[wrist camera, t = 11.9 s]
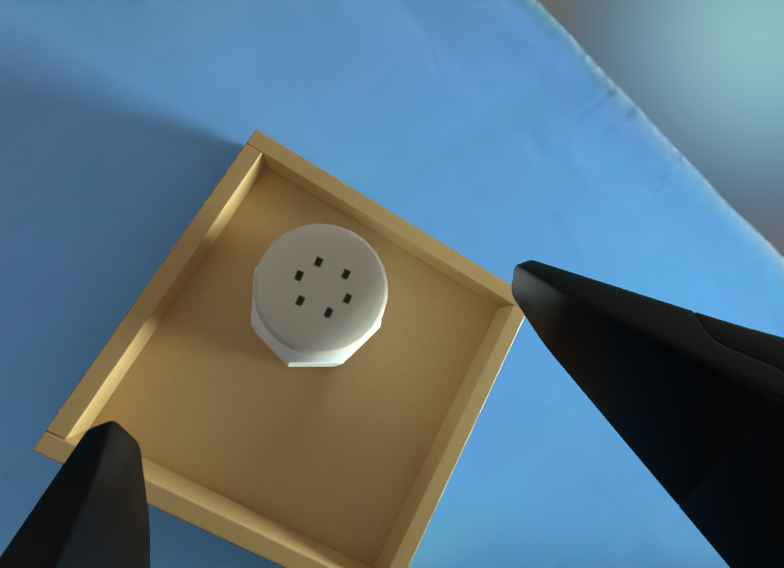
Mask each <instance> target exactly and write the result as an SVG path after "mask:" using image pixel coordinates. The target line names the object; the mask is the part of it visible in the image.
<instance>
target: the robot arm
mask: <svg viewBox="0 0 784 568" xmlns="http://www.w3.org/2000/svg"><path fill="white" fill-rule="evenodd" d="M512 295H513V298H514V300H515V301H516V303H517V304H518V306H519V307H520V309H521V310H522V312H523V313H524V315H525V316H526V318H527V319H528V321H529V322H530V324H531V325H532V327H533V328H534V330H535V331H536V333H537V334H538V336H539V337H540V339H541V340H542V341H543V343H544V344H545V346H546V347H547V348H548V350H549V351H550V352H551V353H552V355H553V356H554V357H555V358H556V359H557V361H558V362H559V363H560V364H561V365H562V367H563V368H564V369H565V370H566V371H567V373H568V374H569V375H570V376H571V377H572V379H573V380H574V381H575V382H576V383H577V385H578V386H579V387H580V388H581V389H582V391H583V392H584V393H585V394H586V395H587V396H588V398H589V399H590V400H591V401H592V402H593V404H594V405H595V406H596V407H597V408H598V410H599V411H600V412H601V413H602V414H603V416H604V417H605V418H606V419H607V420H608V422H609V423H610V424H611V425H612V426H613V428H614V429H615V430H616V431H617V432H618V434H619V435H620V436H621V437H622V438H623V440H624V441H625V442H626V443H627V444H628V446H629V447H630V448H631V449H632V450H633V452H634V453H635V454H636V455H637V456H638V458H639V459H640V460H641V461H642V462H643V463H644V465H645V466H646V467H647V468H648V469H649V471H650V472H651V473H652V474H653V475H654V477H655V478H656V479H657V480H658V481H659V483H660V484H661V485H662V486H663V487H664V489H665V490H666V491H667V492H668V493H669V495H670V496H671V497H672V498H673V499H674V501H675V502H676V503H677V504H678V505H679V507H680V508H681V509H682V511H683V512H684V513H685V514H686V515H687V517H688V518H689V519H690V520H691V521H692V522H693V524H694V525H695V526H696V527H697V528H698V530H699V531H700V532H701V533H702V534H703V536H704V537H705V538H706V539H707V540H708V542H709V543H710V544H711V545H712V546H713V548H714V549H715V550H716V551H717V552H718V554H719V555H720V556H721V557H722V558H723V560H724V561H725V562H726V563H727V564H728V566H729V567H730V568H784V338H783V337H779V336H775V335H771V334H768V333H764V332H760V331H757V330H753V329H749V328H746V327H742V326H739V325H736V324H732V323H729V322H726V321H723V320H719V319H716V318H713V317H710V316H707V315H703V314H700V313H697V312H696V313H694V312H693V311H691V310H687V309H684V308H681V307H678V306H675V305H672V304H669V303H666V302H662V301H659V300H656V299H653V298H650V297H647V296H644V295H640V294H637V293H634V292H631V291H628V290H625V289H622V288H618V287H615V286H612V285H609V284H606V283H603V282H600V281H596V280H593V279H590V278H587V277H584V276H581V275H578V274H575V273H571V272H568V271H565V270H562V269H559V268H556V267H553V266H549V265H546V264H543V263H540V262H537V261H533V260H529V261H526V262H523V263H521V264H518V265H517V266H516V267H515V269H514V275H513V283H512ZM0 568H150V524H149V513H148V505H147V497H146V489H145V481H144V473H143V465H142V456H141V450H140V446H139V444H138V442H137V441H136V440H135V439H134V438H133V437H132V436H131V435H130V434H129V433H128V432H127V431H126V430H125V429H124V428H123V427H122V426H121V425H120V424H118V423H117V422H115V421H108V422H105V423H102V424H100V425H97V426H95V427H92V428H90V429H89V430H87V431H86V432H85V434H84V435H83V437H82V438H81V439H80V441H79V442H78V444H77V445H76V447H75V448H74V450H73V451H72V453H71V454H70V456H69V457H68V459H67V460H66V461H65V463H64V464H63V466H62V467H61V469H60V470H59V472H58V473H57V475H56V476H55V478H54V479H53V481H52V482H51V484H50V485H49V486H48V488H47V489H46V491H45V492H44V494H43V495H42V497H41V498H40V500H39V501H38V503H37V504H36V506H35V507H34V508H33V510H32V511H31V513H30V514H29V516H28V517H27V519H26V520H25V522H24V523H23V525H22V526H21V528H20V529H19V531H18V532H17V533H16V535H15V536H14V538H13V539H12V541H11V542H10V544H9V545H8V547H7V548H6V550H5V551H4V553H3V554H2V555H1V557H0Z"/></svg>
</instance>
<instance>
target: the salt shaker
mask: <svg viewBox="0 0 784 568" xmlns="http://www.w3.org/2000/svg"><path fill="white" fill-rule="evenodd" d="M387 297H388V282H387V278H386V273H385V269H384V266H383V264H382V262H381V260H380V259H379V257H378V255H377V253H376V251H375V250H374V249H373V248H372V247H371V246H370V245H369V244H368V243H367V242H366V241H365V240H364V239H363V238H361V237H360V236H358V235H357V234H355V233H354V232H352V231H351V230H348V229H345V228H342V227H339V226H336V225H329V224H312V225H307V226H301V227H298V228H296V229H294V230H292V231H289V232H287V233H285V234H283V235H282V236H281V237H280V238H279V239H277V240H276V241H275V242H274V243H273V244H271V245H270V246H269V248H268V249H267V251H266V252H265V254H264V255H263V257H262V258H261V259H260V262H259V265H258V266H257V267H256V268H255V270H254V278H253V293H252V309H251V326H252V327H253V329H254V331H255V332H256V334H257V335H258V336H259V337H260V338H261V339H262V340H263V341H264V342H265V343H266V344H267V345H268V346H269V347H270V348H271V349H272V350H273V351H274V352H275V354H276V355H277V356H278V357H279V358H280V359H281V360H282V361H283V362H284V363H285V364H286V365H287V366H288V367H335V366H338V365H341V364H343V363H344V362H345V361H346V360H347V359H348V358H349V357H350V356H351V355H352V354H353V353H354V352H355V351H356V350H357V349H358V348H359V347H360V346H361V345H362V344H363V343H364V342H365V341H367V340H368V339H369V338H370V337H371V336H372V335H373V334H374V333H375V332H376V331H377V330H378V329H379V328H380V326H381V318H382V316H383V313H384V310H385V306H386V303H387Z"/></svg>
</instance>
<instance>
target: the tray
mask: <svg viewBox="0 0 784 568" xmlns="http://www.w3.org/2000/svg"><path fill="white" fill-rule="evenodd" d="M312 224H329V225H336V226H339V227H342V228H345V229H348V230H351V231H352V232H354V233H355V234H357V235H358V236H360V237H361V238H363V239H364V240H365V241H366V242H367V243H368V244H369V245H370V246H371V247H372V248H373V249H374V250H375V251H376V253H377V255H378V257H379V259H380V260H381V262H382V264H383V266H384V269H385V273H386V278H387V282H388V297H387V303H386V306H385V310H384V313H383V316H382V318H381V326H380V328H379V329H378V330H377V331H376V332H375V333H374V334H373V335H372V336H371V337H370V338H369V339H368V340H367V341H365V342H364V343H363V344H362V345H361V346H360V347H359V348H358V349H357V350H356V351H355V352H354V353H353V354H352V355H351V356H350V357H349V358H348V359H347V360H346V361H345V362H344V363H343V364H341V365H338V366H335V367H288V366H287V365H286V364H285V363H284V362H283V361H282V360H281V359H280V358H279V357H278V356H277V355H276V354H275V352H274V351H273V350H272V349H271V348H270V347H269V346H268V345H267V344H266V343H265V342H264V341H263V340H262V339H261V338H260V337H259V336H258V335H257V334H256V332H255V331H254V329H253V327H252V326H251V309H252V293H253V278H254V270H255V268H256V267H257V266H258V265H259V262H260V259H261V258H262V257H263V255H264V254H265V252H266V251H267V249H268V248H269V246H270V245H271V244H273V243H274V242H275V241H276V240H277V239H279V238H280V237H281V236H282V235H283V234H285V233H287V232H289V231H292V230H294V229H296V228H298V227H301V226H307V225H312ZM524 317H525V315H524V313H523V312H522V310H521V309H520V307H519V306H518V304H517V303H516V301H515V300H514V298H513V295H512V286H511V285H510V284H508V283H506V282H505V281H503V280H502V279H500V278H498V277H497V276H495V275H493V274H492V273H490V272H488V271H487V270H485V269H484V268H482V267H480V266H479V265H477V264H475V263H474V262H472V261H471V260H469V259H467V258H466V257H464V256H462V255H461V254H459V253H457V252H456V251H454V250H453V249H451V248H449V247H448V246H446V245H444V244H443V243H441V242H440V241H438V240H436V239H435V238H433V237H431V236H430V235H428V234H426V233H425V232H423V231H422V230H420V229H418V228H417V227H415V226H413V225H412V224H410V223H408V222H407V221H405V220H404V219H402V218H400V217H399V216H397V215H395V214H394V213H392V212H391V211H389V210H387V209H386V208H384V207H382V206H381V205H379V204H377V203H376V202H374V201H373V200H371V199H369V198H368V197H366V196H364V195H363V194H361V193H360V192H358V191H356V190H355V189H353V188H351V187H350V186H348V185H346V184H345V183H343V182H342V181H340V180H338V179H337V178H335V177H333V176H332V175H330V174H328V173H327V172H325V171H324V170H322V169H320V168H319V167H317V166H315V165H314V164H312V163H311V162H309V161H307V160H306V159H304V158H302V157H301V156H299V155H297V154H296V153H294V152H293V151H291V150H289V149H288V148H286V147H284V146H283V145H281V144H280V143H278V142H276V141H275V140H273V139H271V138H270V137H268V136H266V135H265V134H263V133H262V132H260V131H258V130H255V132H254V133H253V134H252V136H251V137H250V139H249V140H248V142H247V144H245V146H244V147H243V149H242V150H241V151H240V153H239V154H238V156H237V157H236V159H235V160H234V161H233V163H232V164H231V166H230V167H229V169H228V170H227V171H226V173H225V174H224V176H223V177H222V179H221V180H220V181H219V183H218V184H217V186H216V187H215V189H214V190H213V191H212V193H211V194H210V196H209V197H208V199H207V200H206V201H205V203H204V204H203V206H202V207H201V209H200V210H199V211H198V213H197V214H196V216H195V217H194V219H193V220H192V221H191V223H190V224H189V226H188V227H187V229H186V230H185V231H184V233H183V234H182V236H181V237H180V239H179V240H178V241H177V243H176V244H175V246H174V247H173V249H172V250H171V251H170V253H169V254H168V256H167V257H166V259H165V260H164V261H163V263H162V264H161V266H160V267H159V269H158V270H157V271H156V273H155V274H154V276H153V277H152V279H151V280H150V281H149V283H148V284H147V286H146V287H145V289H144V290H143V291H142V293H141V294H140V296H139V297H138V299H137V300H136V301H135V303H134V304H133V306H132V307H131V309H130V310H129V312H128V313H127V314H126V316H125V317H124V319H123V320H122V322H121V323H120V324H119V326H118V327H117V329H116V330H115V332H114V333H113V334H112V336H111V337H110V339H109V340H108V342H107V343H106V344H105V346H104V347H103V349H102V350H101V352H100V353H99V354H98V356H97V357H96V359H95V360H94V362H93V363H92V364H91V366H90V367H89V369H88V370H87V372H86V373H85V374H84V376H83V377H82V379H81V380H80V382H79V383H78V384H77V386H76V387H75V389H74V390H73V392H72V393H71V394H70V396H69V397H68V399H67V400H66V402H65V403H64V404H63V406H62V407H61V409H60V410H59V412H58V413H57V414H56V416H55V417H54V419H53V420H52V422H51V423H50V424H49V426H48V427H47V429H46V430H47V431H46V432H44V434H43V435H42V437H41V438H40V440H39V441H38V442H37V444H36V445H35V447H34V449H33V450H34V451H36V452H38V453H40V454H42V455H44V456H47V457H49V458H51V459H53V460H55V461H57V462H59V463H62V464H64V463H65V461H66V460H67V459H68V457H69V456H70V454H71V453H72V451H73V450H74V448H75V447H76V445H77V444H78V442H79V441H80V439H81V438H82V437H83V435H84V434H85V432H86V431H87V430H89V429H90V428H92V427H95V426H97V425H100V424H102V423H105V422H108V421H115V422H117V423H118V424H120V425H121V426H122V427H123V428H124V429H125V430H126V431H127V432H128V433H129V434H130V435H131V436H132V437H133V438H134V439H135V440H136V441H137V442H138V444H139V446H140V450H141V456H142V465H143V473H144V481H145V489H146V497H147V504H149V505H152V506H154V507H156V508H158V509H160V510H162V511H164V512H167V513H169V514H171V515H173V516H175V517H177V518H179V519H182V520H184V521H186V522H188V523H190V524H192V525H194V526H196V527H199V528H201V529H203V530H205V531H207V532H209V533H211V534H214V535H216V536H218V537H220V538H222V539H224V540H226V541H229V542H231V543H233V544H235V545H237V546H239V547H241V548H244V549H246V550H248V551H250V552H252V553H254V554H256V555H259V556H261V557H263V558H265V559H267V560H269V561H271V562H274V563H276V564H278V565H280V566H282V567H284V568H408V567H409V565H410V563H411V561H412V558H413V556H414V554H415V552H416V550H417V548H418V545H419V543H420V541H421V539H422V537H423V535H424V532H425V530H426V528H427V526H428V524H429V522H430V520H431V517H432V515H433V513H434V511H435V509H436V507H437V504H438V502H439V500H440V498H441V496H442V494H443V492H444V489H445V487H446V485H447V483H448V481H449V479H450V476H451V474H452V472H453V470H454V468H455V466H456V463H457V461H458V459H459V457H460V455H461V453H462V451H463V448H464V446H465V444H466V442H467V440H468V438H469V435H470V433H471V431H472V429H473V427H474V425H475V422H476V420H477V418H478V416H479V414H480V412H481V410H482V407H483V405H484V403H485V401H486V399H487V397H488V394H489V392H490V390H491V388H492V386H493V384H494V382H495V379H496V377H497V375H498V373H499V371H500V369H501V366H502V364H503V362H504V360H505V358H506V356H507V353H508V351H509V349H510V347H511V345H512V343H513V341H514V338H515V336H516V334H517V332H518V330H519V328H520V325H521V323H522V321H523V319H524Z"/></svg>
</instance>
